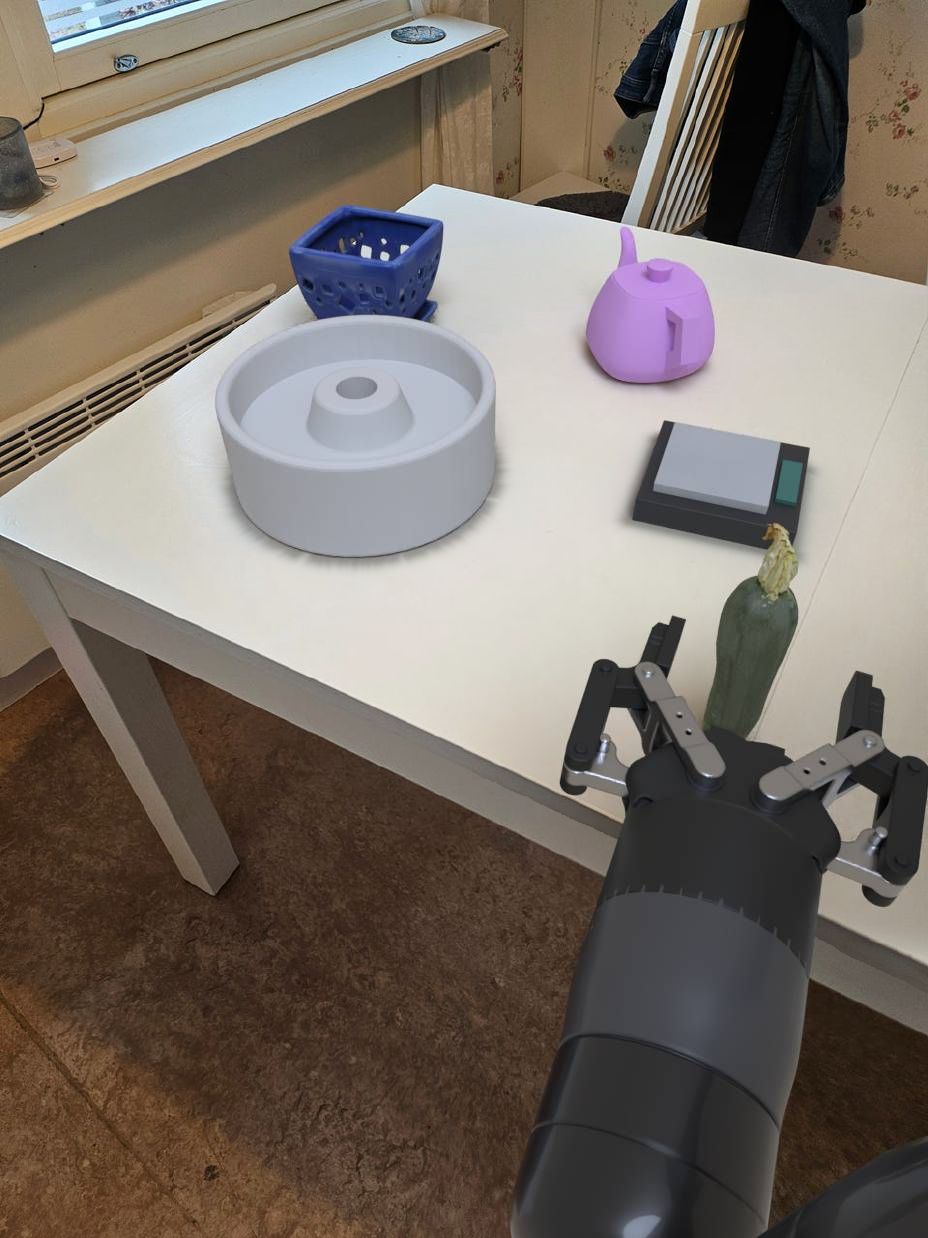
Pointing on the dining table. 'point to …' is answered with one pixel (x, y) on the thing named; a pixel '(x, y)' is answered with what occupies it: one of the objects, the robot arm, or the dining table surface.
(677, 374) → the teapot
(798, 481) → the scale
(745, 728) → the vegetable
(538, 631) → the dining table surface
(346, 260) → the flower pot
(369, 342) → the container
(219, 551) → the dining table surface
